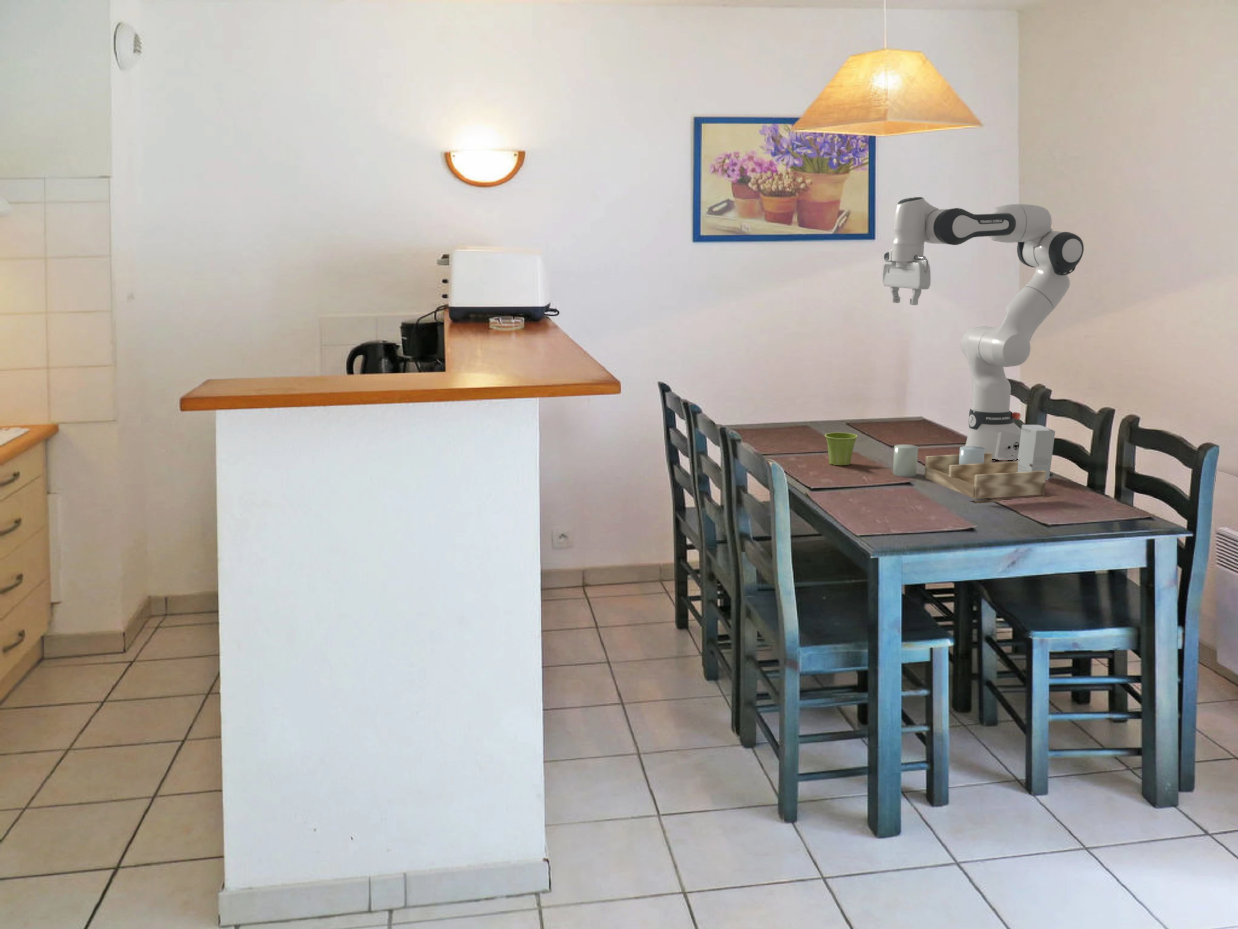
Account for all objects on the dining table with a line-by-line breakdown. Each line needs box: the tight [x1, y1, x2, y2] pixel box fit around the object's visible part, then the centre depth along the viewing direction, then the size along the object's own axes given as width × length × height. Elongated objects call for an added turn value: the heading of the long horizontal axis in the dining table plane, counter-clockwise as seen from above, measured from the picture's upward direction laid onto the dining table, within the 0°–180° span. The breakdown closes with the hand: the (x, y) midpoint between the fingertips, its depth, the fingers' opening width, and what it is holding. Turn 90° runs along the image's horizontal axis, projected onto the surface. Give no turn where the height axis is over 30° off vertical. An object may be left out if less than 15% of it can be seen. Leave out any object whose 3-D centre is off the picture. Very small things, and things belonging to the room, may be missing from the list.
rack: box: [924, 453, 1046, 504], centre depth 295 cm, size 20×25×7 cm
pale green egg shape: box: [892, 444, 919, 478], centre depth 309 cm, size 6×6×9 cm
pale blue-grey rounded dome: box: [958, 445, 985, 465], centre depth 301 cm, size 6×6×9 cm
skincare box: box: [1016, 424, 1056, 480], centre depth 307 cm, size 8×6×15 cm
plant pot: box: [824, 432, 858, 466], centre depth 328 cm, size 9×9×9 cm
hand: (904, 303), depth 322 cm, fingers open, 8 cm apart
